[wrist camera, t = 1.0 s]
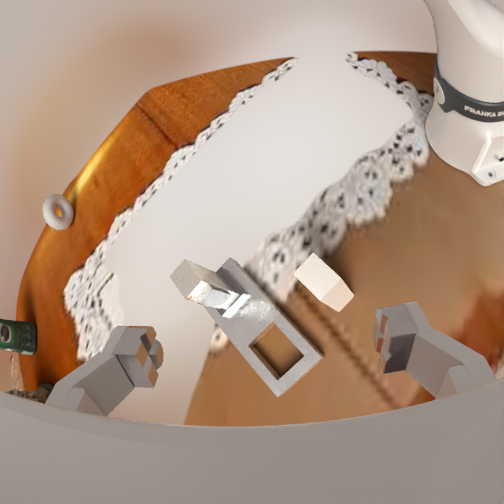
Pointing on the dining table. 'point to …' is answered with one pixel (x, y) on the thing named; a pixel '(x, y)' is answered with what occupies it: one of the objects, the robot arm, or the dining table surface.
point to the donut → (51, 216)
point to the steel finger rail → (245, 317)
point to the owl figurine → (35, 393)
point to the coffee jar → (18, 336)
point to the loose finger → (324, 283)
